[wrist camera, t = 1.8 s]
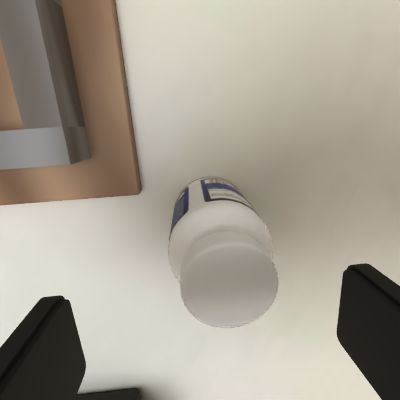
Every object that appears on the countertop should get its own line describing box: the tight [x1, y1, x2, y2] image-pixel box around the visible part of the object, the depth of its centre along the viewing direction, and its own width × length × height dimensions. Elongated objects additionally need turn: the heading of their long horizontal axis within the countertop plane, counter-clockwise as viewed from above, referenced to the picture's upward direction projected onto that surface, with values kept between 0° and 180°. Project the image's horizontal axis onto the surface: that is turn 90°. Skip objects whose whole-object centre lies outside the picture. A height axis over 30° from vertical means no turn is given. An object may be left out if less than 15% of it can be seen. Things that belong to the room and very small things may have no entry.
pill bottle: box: [168, 177, 278, 328], centre depth 15 cm, size 5×5×10 cm
